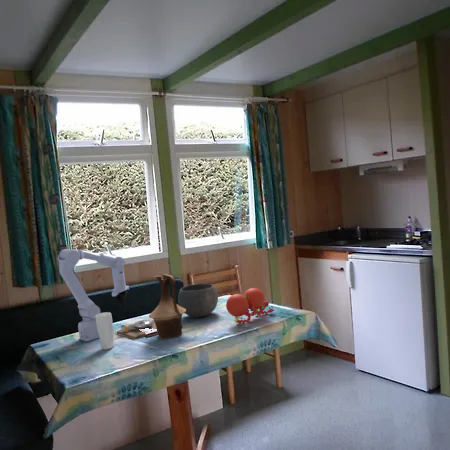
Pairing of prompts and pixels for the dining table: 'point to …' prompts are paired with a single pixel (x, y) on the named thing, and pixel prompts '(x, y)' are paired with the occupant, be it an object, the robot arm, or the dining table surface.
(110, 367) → the dining table surface
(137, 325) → the flange
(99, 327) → the drinking glass
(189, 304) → the bowl
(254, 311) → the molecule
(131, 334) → the board
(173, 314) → the pitcher
